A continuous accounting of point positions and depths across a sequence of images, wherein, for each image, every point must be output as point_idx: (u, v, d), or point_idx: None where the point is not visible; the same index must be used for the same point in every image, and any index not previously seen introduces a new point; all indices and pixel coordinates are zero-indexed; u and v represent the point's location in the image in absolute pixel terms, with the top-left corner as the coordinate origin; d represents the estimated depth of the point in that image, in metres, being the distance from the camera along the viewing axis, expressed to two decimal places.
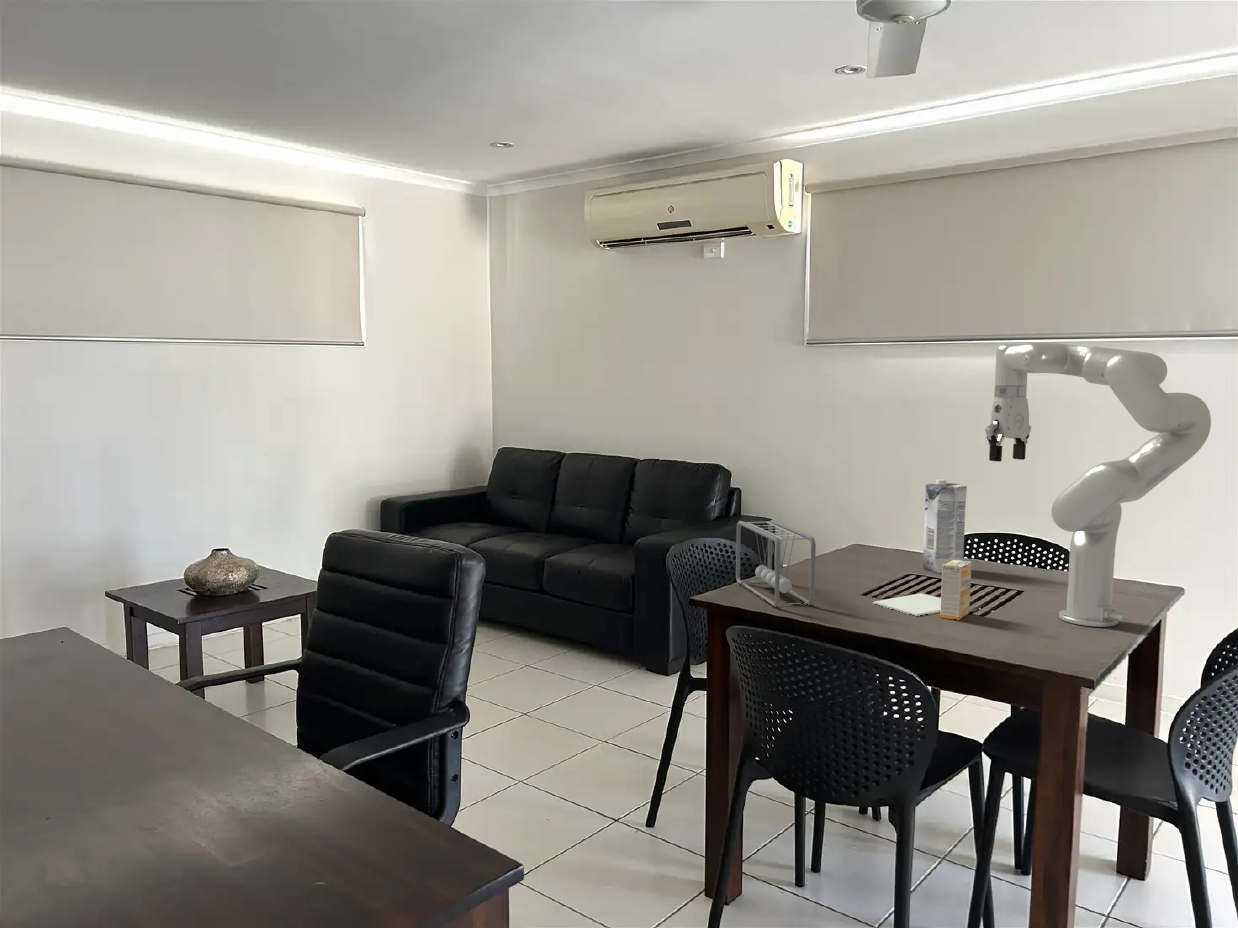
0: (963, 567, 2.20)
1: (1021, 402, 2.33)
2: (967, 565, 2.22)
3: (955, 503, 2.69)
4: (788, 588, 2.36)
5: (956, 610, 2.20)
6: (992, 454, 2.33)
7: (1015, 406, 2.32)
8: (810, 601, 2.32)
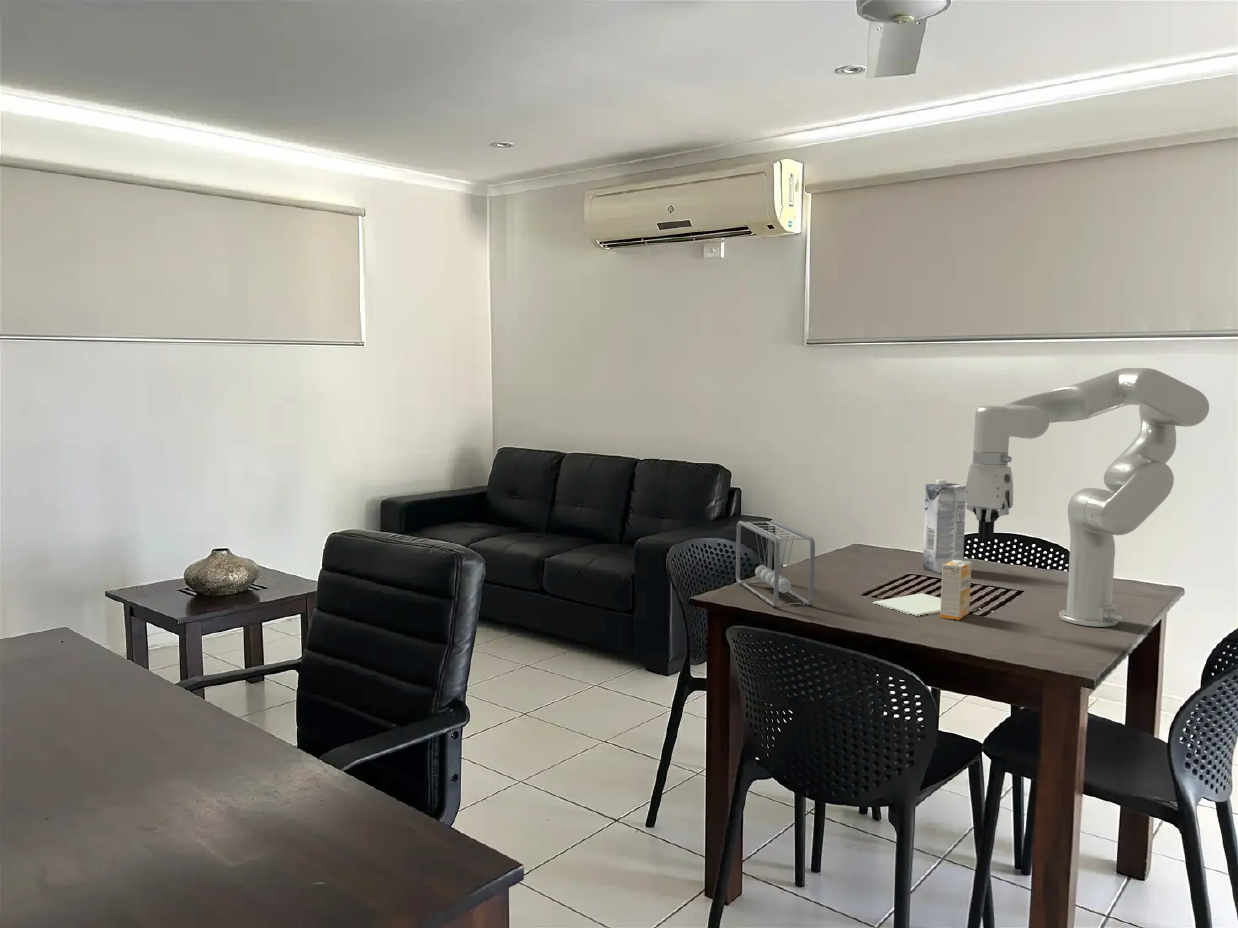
0: (963, 567, 2.20)
1: None
2: (967, 565, 2.22)
3: (955, 503, 2.69)
4: (787, 588, 2.36)
5: (956, 610, 2.20)
6: (990, 531, 2.14)
7: None
8: (809, 601, 2.32)
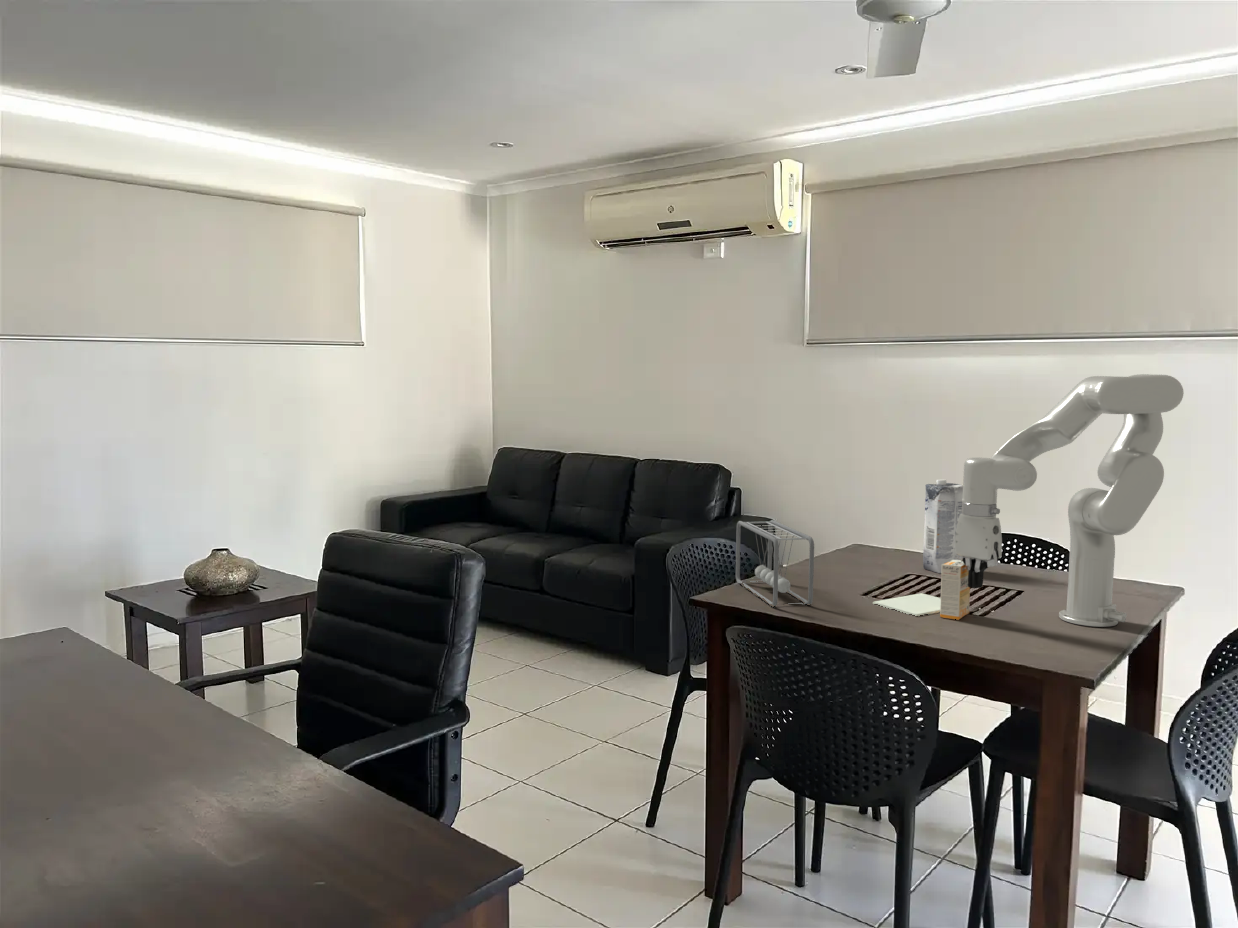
0: (962, 567, 2.20)
1: None
2: None
3: (955, 503, 2.69)
4: (787, 588, 2.36)
5: (956, 610, 2.20)
6: (980, 581, 2.17)
7: None
8: (809, 601, 2.32)
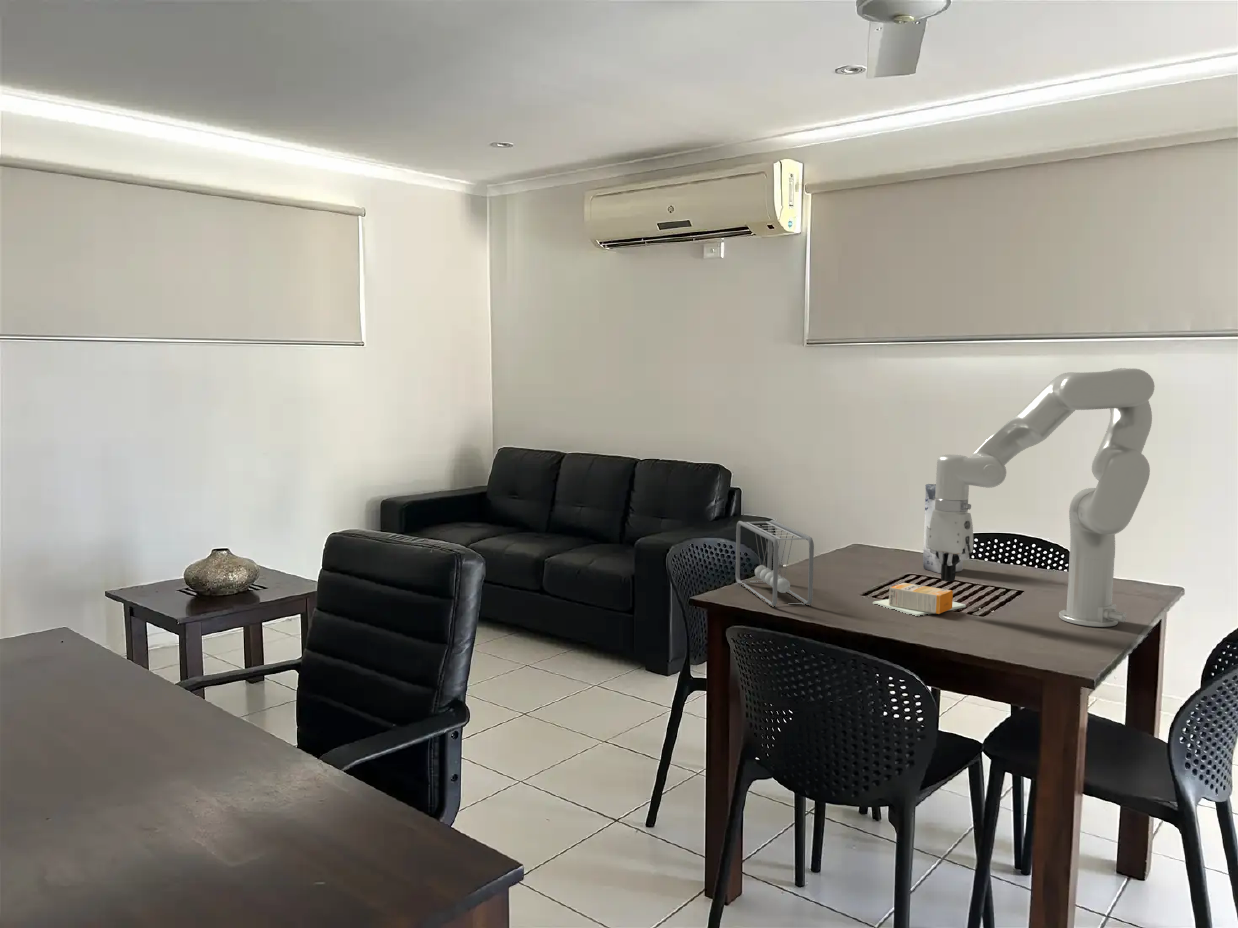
0: (893, 586, 2.31)
1: None
2: (898, 584, 2.34)
3: None
4: (786, 588, 2.36)
5: (930, 596, 2.23)
6: (952, 574, 2.24)
7: None
8: (808, 601, 2.31)
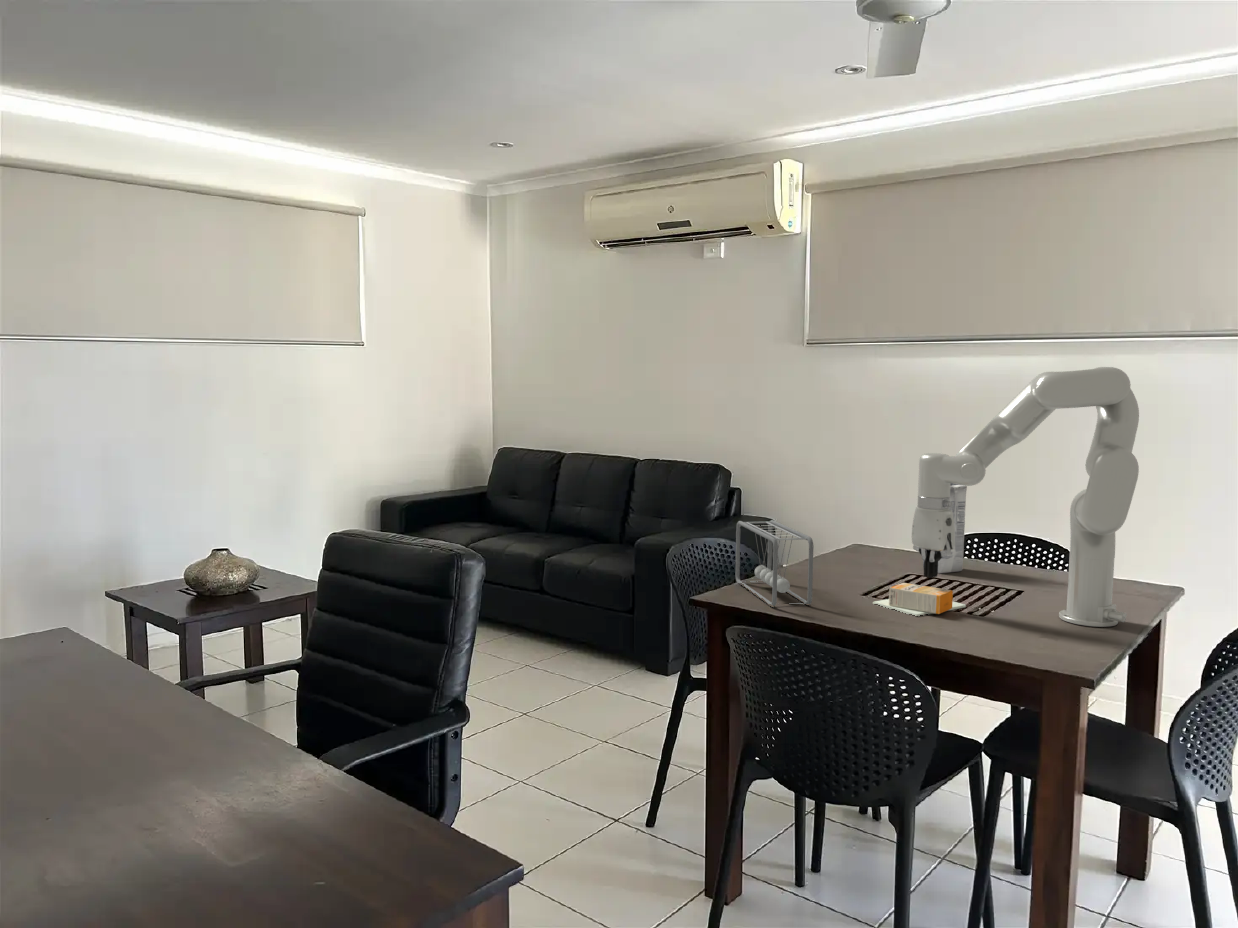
0: (893, 586, 2.31)
1: None
2: (898, 584, 2.34)
3: (955, 503, 2.69)
4: (786, 588, 2.36)
5: (930, 596, 2.23)
6: (934, 570, 2.28)
7: None
8: (808, 601, 2.31)
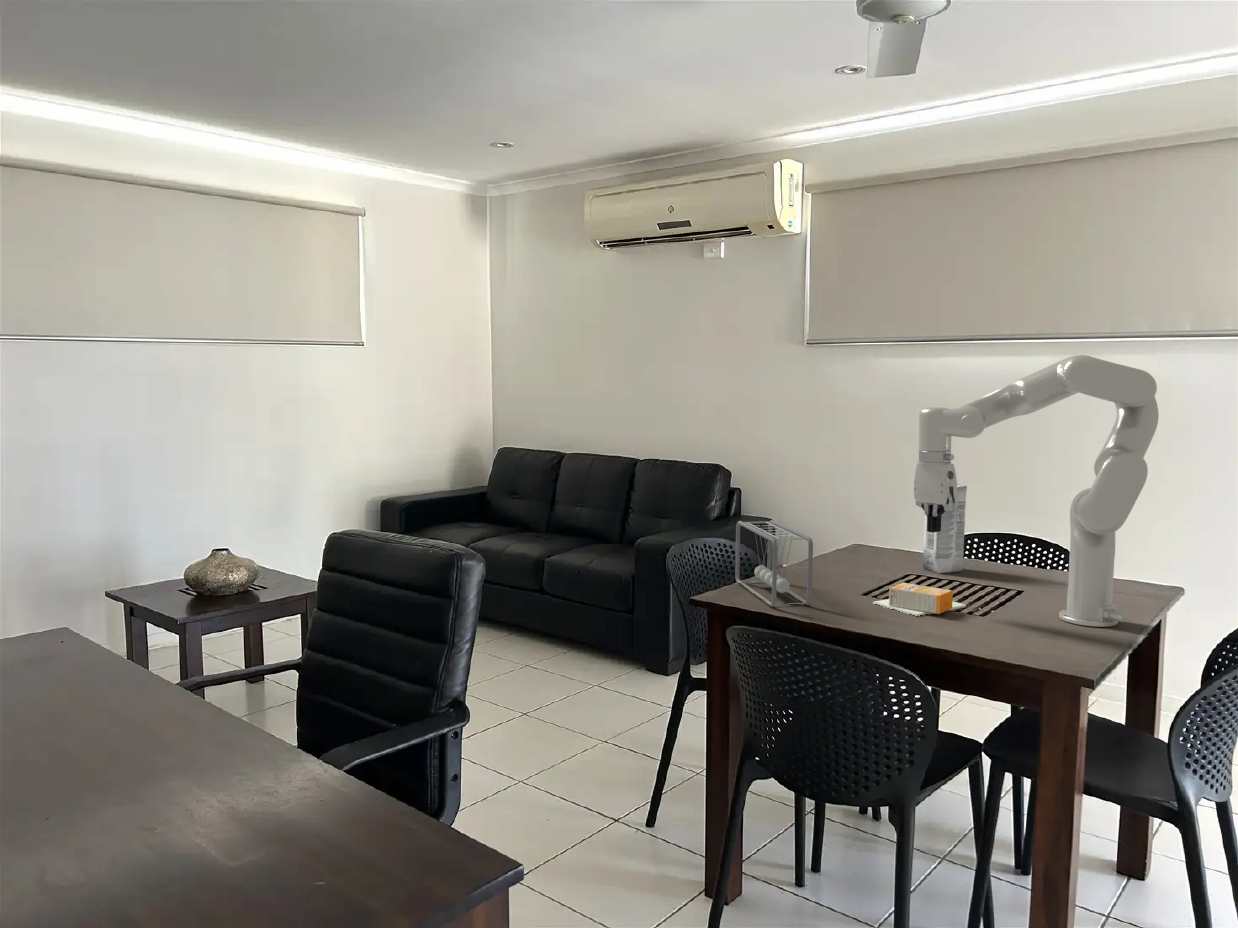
0: (893, 586, 2.31)
1: None
2: (898, 584, 2.34)
3: (955, 503, 2.69)
4: (786, 588, 2.35)
5: (930, 596, 2.23)
6: (938, 525, 2.27)
7: None
8: (807, 601, 2.31)
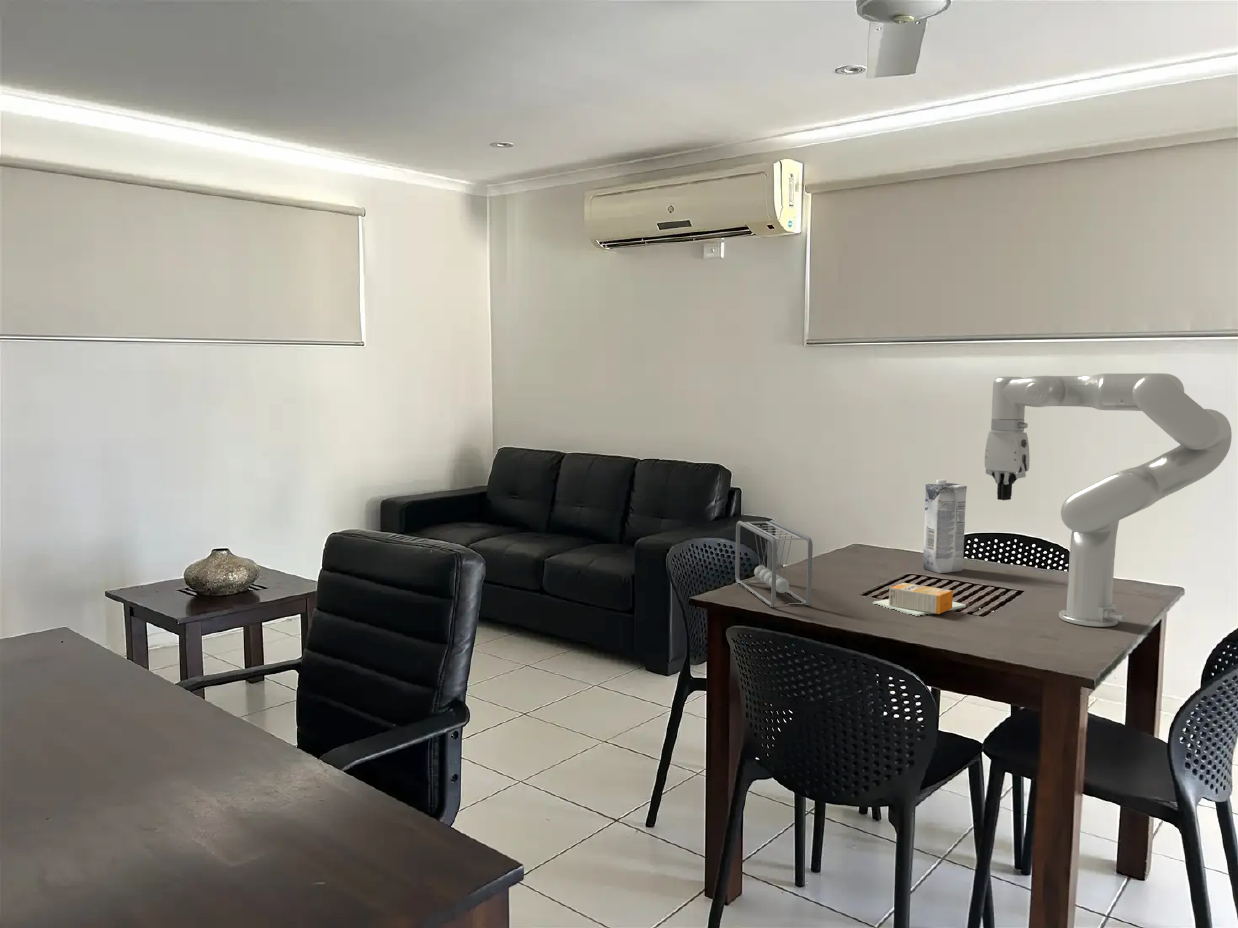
0: (893, 586, 2.31)
1: None
2: (898, 584, 2.34)
3: (955, 503, 2.69)
4: (785, 588, 2.35)
5: (930, 596, 2.23)
6: (1008, 493, 2.30)
7: None
8: (807, 601, 2.31)
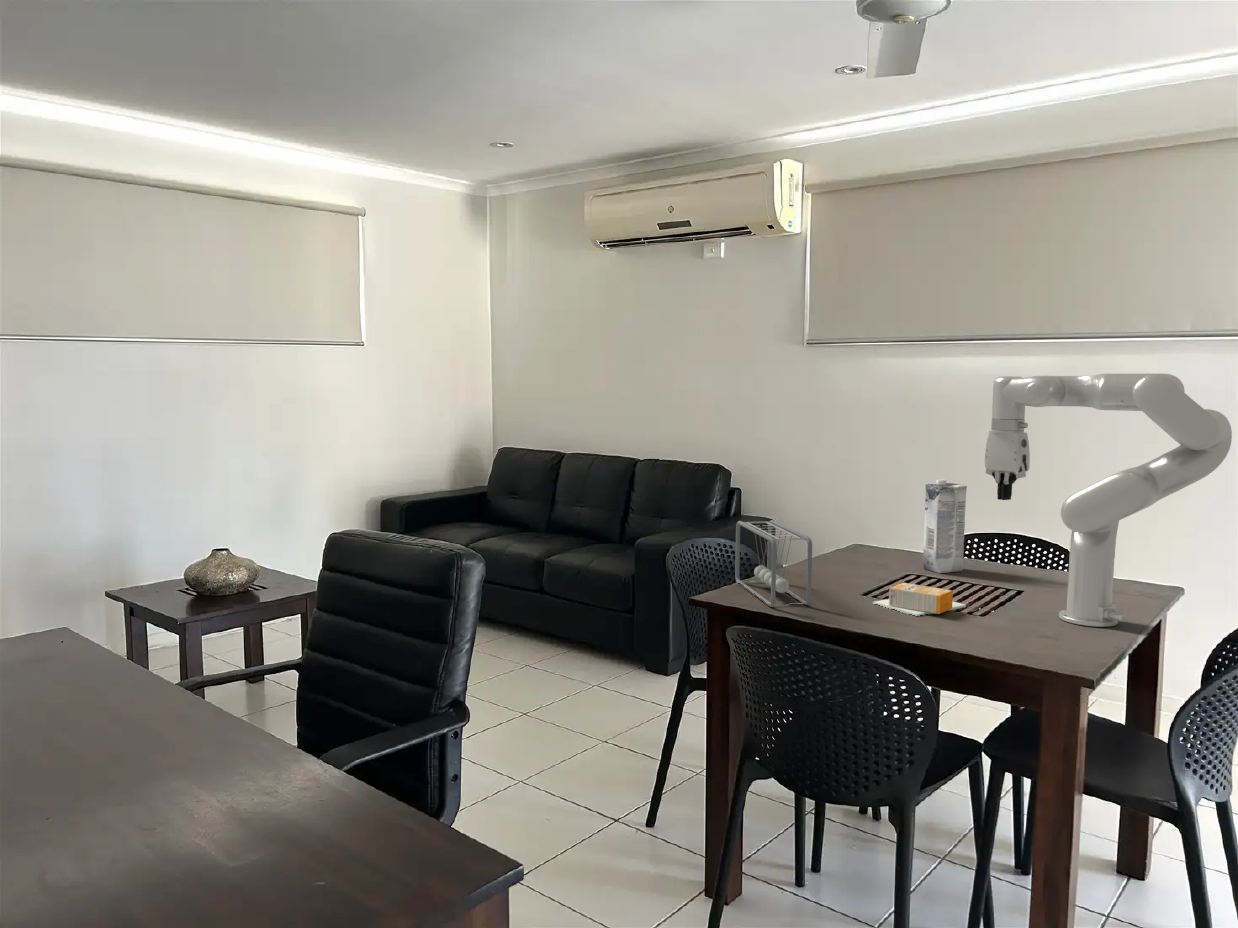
0: (893, 586, 2.31)
1: None
2: (898, 584, 2.34)
3: (955, 503, 2.69)
4: (785, 588, 2.35)
5: (930, 596, 2.23)
6: (1008, 493, 2.30)
7: None
8: (807, 601, 2.31)
